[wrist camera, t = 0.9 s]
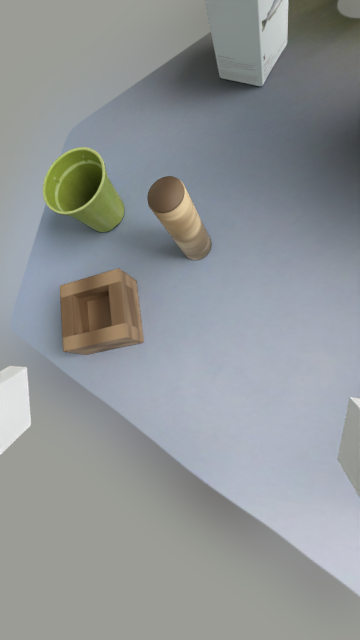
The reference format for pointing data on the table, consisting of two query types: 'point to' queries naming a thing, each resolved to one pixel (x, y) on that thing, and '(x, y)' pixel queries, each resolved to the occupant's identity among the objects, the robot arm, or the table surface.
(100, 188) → the plant pot
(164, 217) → the dowel
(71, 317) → the socket block
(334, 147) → the table surface
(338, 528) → the table surface
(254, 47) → the supplement box
